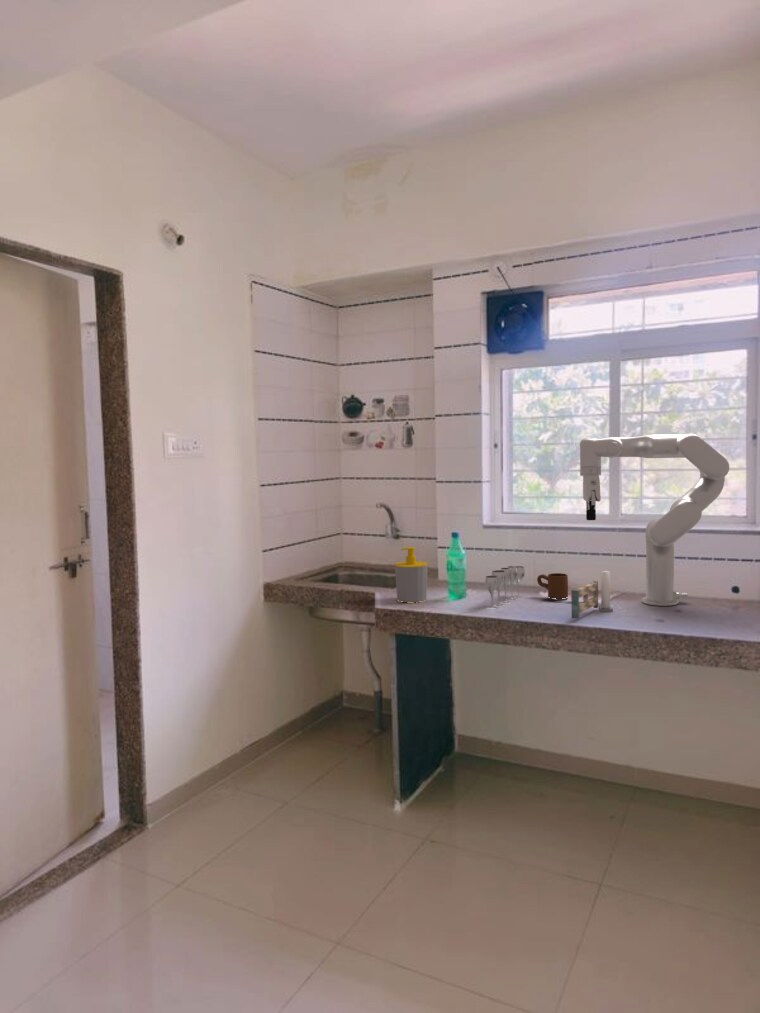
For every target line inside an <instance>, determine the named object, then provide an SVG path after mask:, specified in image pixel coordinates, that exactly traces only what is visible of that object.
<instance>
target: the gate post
mask: <svg viewBox="0 0 760 1013" xmlns="http://www.w3.org/2000/svg"><path fill="white" fill-rule="evenodd" d="M600 574H601V575H600V580H601V581H600V582H601V583H600V584H601V585H600V586H601V587H600V592H601V593H600V594H601V598H600V599H601V600H600V602H601V605H598V610H599V609H600V610H599V612H601V613H613V612H614V609H613V607H612V606H611V571H609V570H601V572H600Z"/></svg>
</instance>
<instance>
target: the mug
mask: <svg viewBox="0 0 760 1013" xmlns="http://www.w3.org/2000/svg"><path fill="white" fill-rule="evenodd" d="M543 579H544V580H546V581H547V583H546V582H543V581H542V580H543ZM536 580H537V584H538V585H539V586H540V587H542V588H545V589H546V590H547V597H550V598H556V599H562V598H566V597H568V598H569V578H568V574H567V573H563V572H562V573H561V572H560V573H559V572H557V573H555V572H554V573H548V575H546V574H539V575H538V576H537V578H536Z"/></svg>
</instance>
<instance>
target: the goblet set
mask: <svg viewBox="0 0 760 1013" xmlns="http://www.w3.org/2000/svg"><path fill="white" fill-rule="evenodd" d="M525 577H526V570H525V567H524V566H523V565H522V566H520V565H517V566H516V565H515V566H514V565H510V566H507V567H500V570H499V569H497V570H492V572H491V575H487V576H485V579H484V580H485V582H484V584H485V587H486V589H487V590H488V593H489V594H490V599H491V606H488V607H489V608H496V606H502V607H504V606H503V605H505V603H507V604H510V603H509V602H510V600H515V601H517V600H516V599H522V598H521V597H523V596H524V595H519V594H520V592H519V590H520V589H519V586H520V584H521V582H522V581H523V579H525ZM514 582H515V583H516V587H517V595H512V596H513V597H516V598H513V597H511V598H507V588H508V584H510V589H511V590H510V591H511V594H513V587H514ZM503 587H504V600H502V601H501V600H500V599H501V598H500V592H501V589H502V588H503ZM496 590H497V596H498V601H497V602H498V603H494V602H493V600H494V593H495V592H496ZM518 597H519V598H518ZM507 599H508V600H507ZM501 602H502V603H501ZM493 603H494V604H495V605H496V606H493V605H494V604H493Z"/></svg>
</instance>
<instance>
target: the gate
mask: <svg viewBox="0 0 760 1013" xmlns="http://www.w3.org/2000/svg"><path fill="white" fill-rule="evenodd" d="M592 592H593V594H592V595H593V596H592V597H591V598H589V594H591V593H592ZM570 594H571V604H570V605H571V619H575V620H578V619H579V618H580V613H582V612H585V611H587V610H589V609H590V608H592V607H593V609H599V581H598V580H594V581H593V582H591V583H588V584H585V585H584V586H581V587H579V588H576V589H571V593H570ZM581 597H582V598H583V599H582V602H580V599H579V598H581Z"/></svg>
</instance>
